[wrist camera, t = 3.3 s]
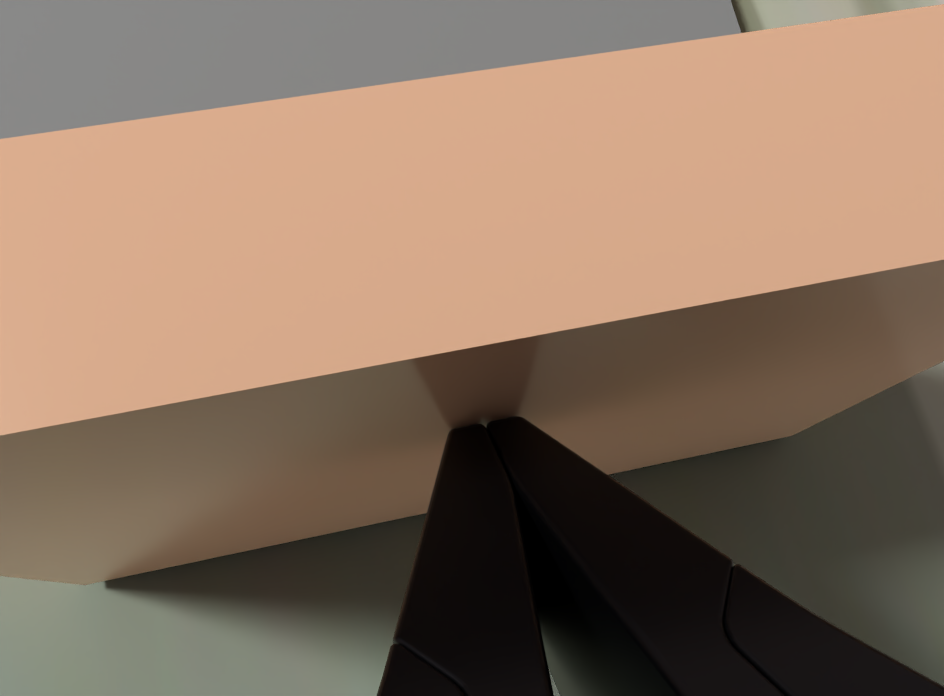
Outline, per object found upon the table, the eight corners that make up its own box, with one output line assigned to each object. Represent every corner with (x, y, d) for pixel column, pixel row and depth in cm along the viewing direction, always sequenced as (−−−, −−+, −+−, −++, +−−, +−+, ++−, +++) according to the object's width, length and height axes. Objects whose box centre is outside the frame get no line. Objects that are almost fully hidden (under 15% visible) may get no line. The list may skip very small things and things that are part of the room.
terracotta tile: (791, 435, 17) (1275, 198, 7) (84, 584, 15) (-478, 524, 6) (753, 323, 18) (1148, -25, 8) (75, 453, 16) (-437, 201, 6)
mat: (818, 297, 18) (827, 292, 17) (-64, 464, 15) (-76, 461, 15) (670, -151, 21) (676, -165, 20) (-94, -66, 18) (-104, -79, 18)
